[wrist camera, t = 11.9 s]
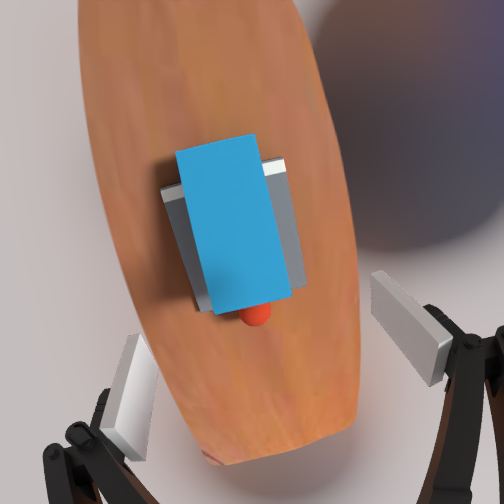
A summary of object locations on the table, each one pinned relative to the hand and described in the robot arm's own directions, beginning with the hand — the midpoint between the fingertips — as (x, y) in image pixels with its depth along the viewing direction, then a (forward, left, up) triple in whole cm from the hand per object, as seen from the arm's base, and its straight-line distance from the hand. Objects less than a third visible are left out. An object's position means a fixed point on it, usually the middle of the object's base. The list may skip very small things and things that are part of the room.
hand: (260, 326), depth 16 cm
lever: (0, 0, -15) cm, 15 cm away
